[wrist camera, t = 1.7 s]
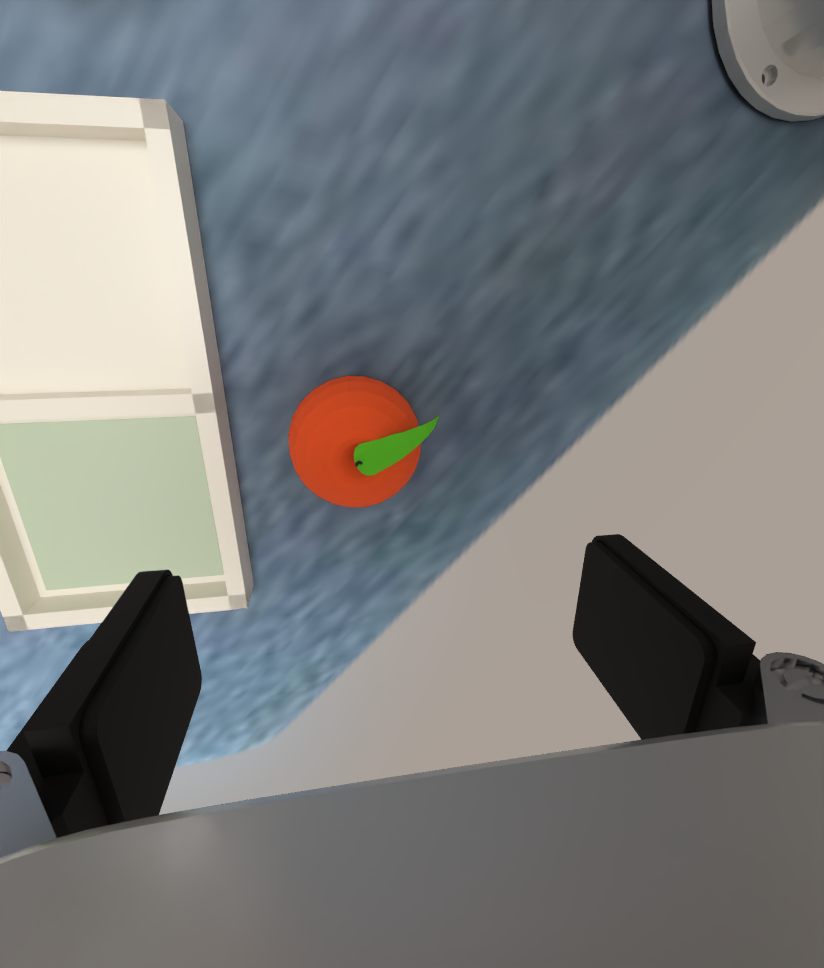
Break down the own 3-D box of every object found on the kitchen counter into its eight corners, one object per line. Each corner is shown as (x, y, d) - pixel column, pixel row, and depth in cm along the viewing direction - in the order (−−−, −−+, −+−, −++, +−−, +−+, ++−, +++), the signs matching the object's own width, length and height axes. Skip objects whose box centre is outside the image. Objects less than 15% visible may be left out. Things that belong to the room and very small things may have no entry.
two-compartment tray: (183, 121, 21) (165, 99, 19) (254, 584, 30) (247, 608, 28) (-147, 106, 19) (-210, 79, 17) (34, 605, 29) (8, 631, 26)
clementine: (402, 341, 26) (426, 354, 20) (441, 448, 29) (473, 491, 23) (272, 394, 26) (252, 424, 20) (323, 497, 29) (321, 553, 23)
